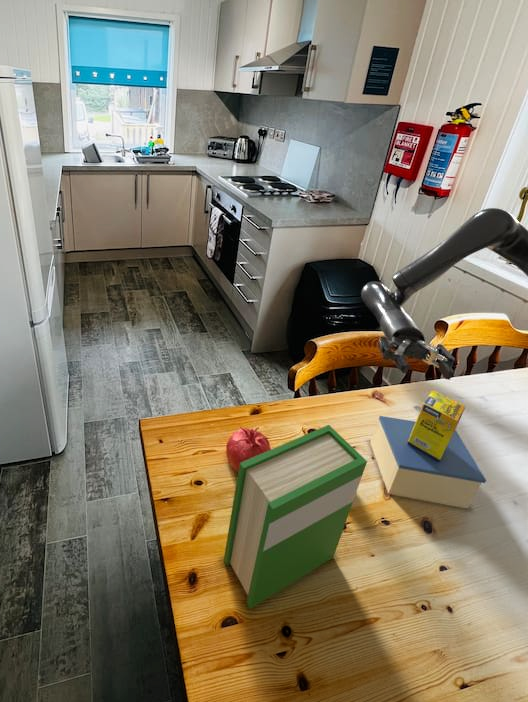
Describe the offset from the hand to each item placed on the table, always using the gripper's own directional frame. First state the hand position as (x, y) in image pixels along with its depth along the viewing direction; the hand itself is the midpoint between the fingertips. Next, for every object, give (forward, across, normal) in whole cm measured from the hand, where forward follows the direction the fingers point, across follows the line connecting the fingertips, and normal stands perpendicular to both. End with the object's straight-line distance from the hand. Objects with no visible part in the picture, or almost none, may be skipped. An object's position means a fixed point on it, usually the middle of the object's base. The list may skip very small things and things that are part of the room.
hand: (427, 373), depth 84 cm
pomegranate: (+14, -35, +20) cm, 43 cm away
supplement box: (+9, 0, +11) cm, 14 cm away
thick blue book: (+9, 0, +20) cm, 22 cm away
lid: (+9, 0, +12) cm, 15 cm away
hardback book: (+32, -30, +20) cm, 48 cm away
